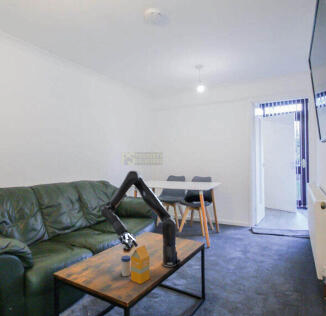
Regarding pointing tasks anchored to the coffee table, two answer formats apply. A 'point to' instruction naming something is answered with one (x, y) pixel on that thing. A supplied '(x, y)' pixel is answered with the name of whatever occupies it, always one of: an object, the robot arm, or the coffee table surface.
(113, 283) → the coffee table surface
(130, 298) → the coffee table surface
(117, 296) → the coffee table surface
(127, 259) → the lid
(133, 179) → the robot arm
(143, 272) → the orange juice
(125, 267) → the jar
